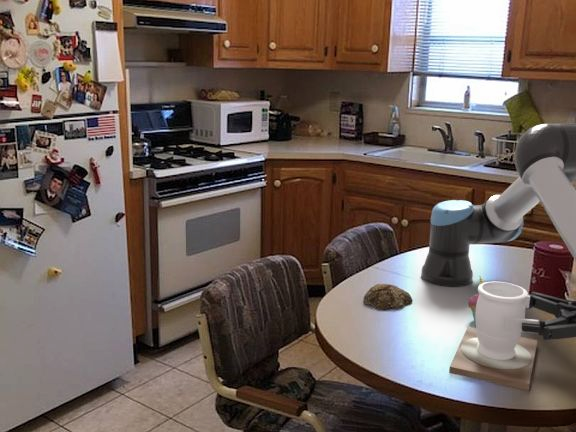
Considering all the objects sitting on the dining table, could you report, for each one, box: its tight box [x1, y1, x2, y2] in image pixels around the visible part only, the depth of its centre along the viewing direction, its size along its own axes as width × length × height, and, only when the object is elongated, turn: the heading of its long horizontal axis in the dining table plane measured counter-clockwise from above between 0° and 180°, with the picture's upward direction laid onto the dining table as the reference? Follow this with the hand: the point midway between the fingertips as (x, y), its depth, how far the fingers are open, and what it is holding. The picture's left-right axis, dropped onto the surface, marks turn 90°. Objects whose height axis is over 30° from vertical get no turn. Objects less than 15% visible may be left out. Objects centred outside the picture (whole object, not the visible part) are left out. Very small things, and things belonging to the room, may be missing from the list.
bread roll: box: [363, 283, 413, 311], centre depth 169 cm, size 13×12×5 cm
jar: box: [474, 280, 529, 360], centre depth 136 cm, size 11×10×15 cm
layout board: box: [448, 326, 538, 391], centre depth 138 cm, size 22×16×2 cm
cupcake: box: [467, 276, 483, 323], centre depth 156 cm, size 9×8×12 cm
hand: (501, 310), depth 135 cm, fingers open, 13 cm apart
